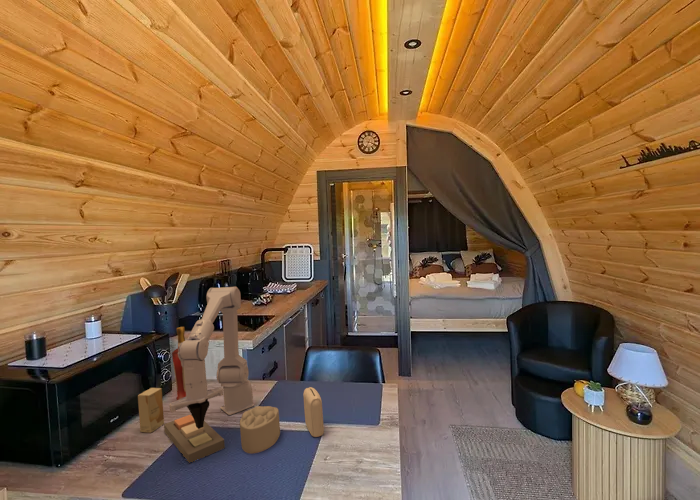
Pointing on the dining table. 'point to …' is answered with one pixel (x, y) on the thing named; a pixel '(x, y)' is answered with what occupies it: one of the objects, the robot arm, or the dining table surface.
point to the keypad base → (187, 448)
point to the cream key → (191, 430)
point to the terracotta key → (184, 422)
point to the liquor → (179, 366)
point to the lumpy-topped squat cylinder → (259, 428)
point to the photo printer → (313, 412)
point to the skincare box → (150, 409)
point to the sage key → (200, 440)
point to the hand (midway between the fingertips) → (199, 426)
